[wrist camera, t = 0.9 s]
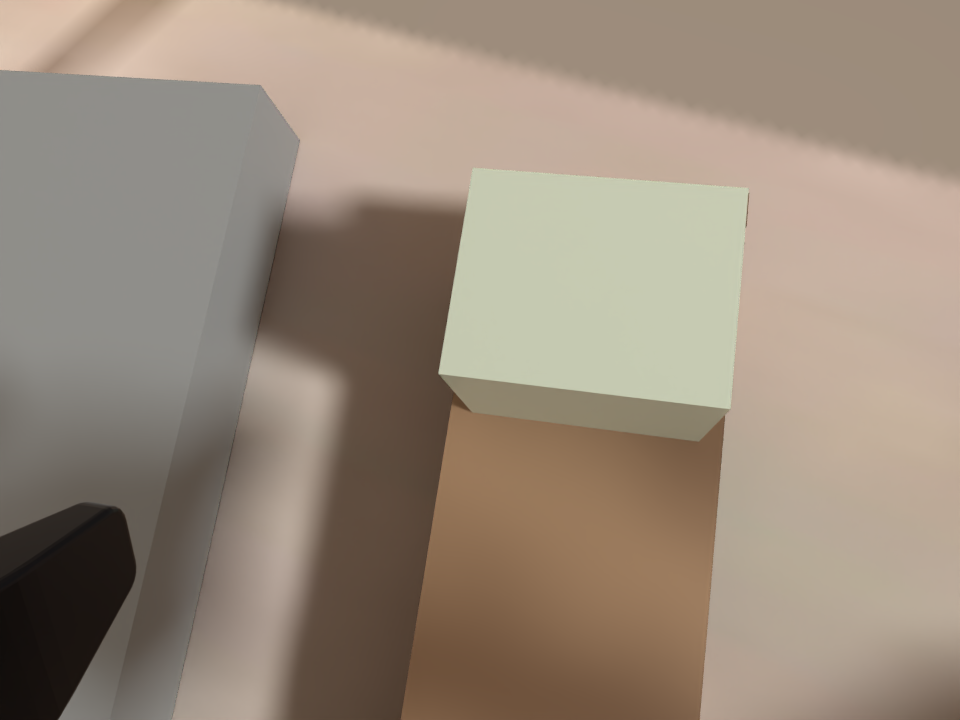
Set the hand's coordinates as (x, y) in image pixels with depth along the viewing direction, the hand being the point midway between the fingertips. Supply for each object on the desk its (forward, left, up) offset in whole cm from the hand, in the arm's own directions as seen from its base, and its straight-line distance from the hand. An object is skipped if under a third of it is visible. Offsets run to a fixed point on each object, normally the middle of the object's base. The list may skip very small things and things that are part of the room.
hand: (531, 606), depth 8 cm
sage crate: (+5, 0, -9) cm, 10 cm away
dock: (+1, +15, -13) cm, 20 cm away
